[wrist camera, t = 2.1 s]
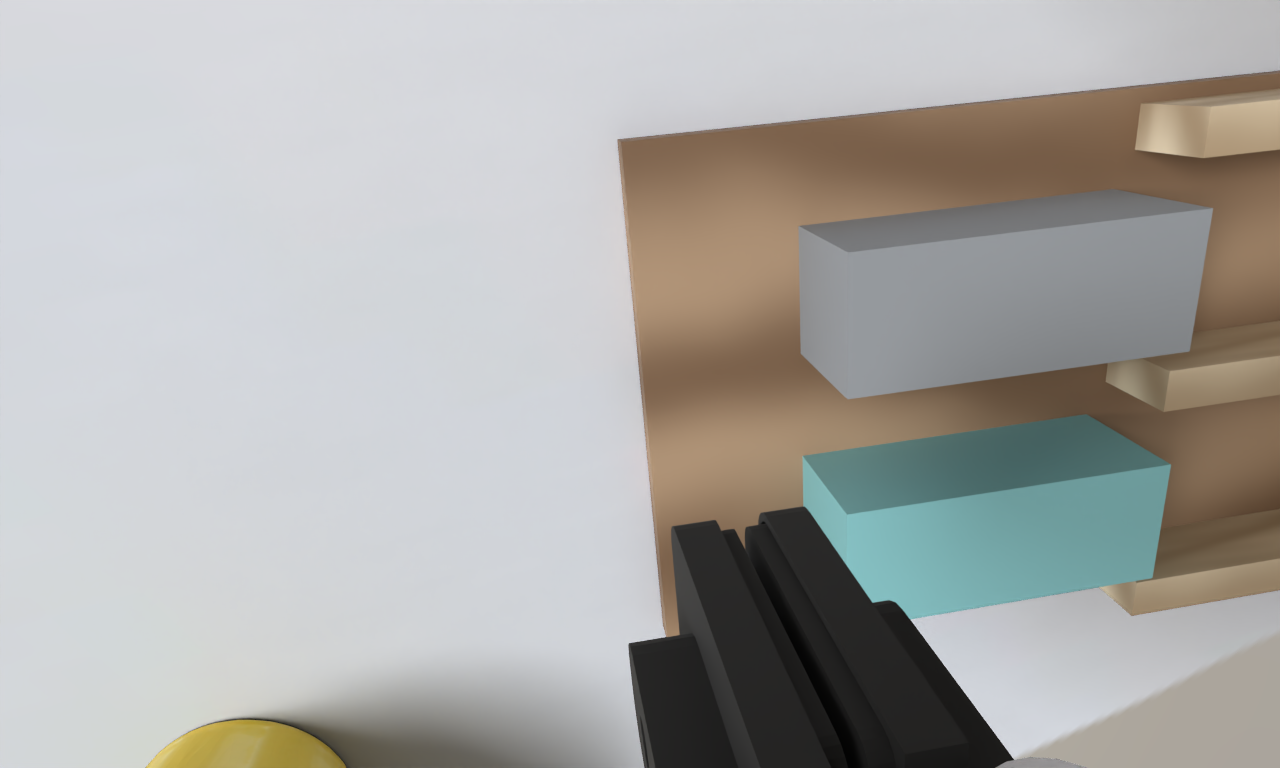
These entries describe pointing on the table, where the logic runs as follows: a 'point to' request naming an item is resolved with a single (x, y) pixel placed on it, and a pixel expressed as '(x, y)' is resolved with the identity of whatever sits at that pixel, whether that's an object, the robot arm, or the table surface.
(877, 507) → the aqua foam brick
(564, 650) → the table surface
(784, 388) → the comb board
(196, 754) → the plant pot
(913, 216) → the grey rectangular block
